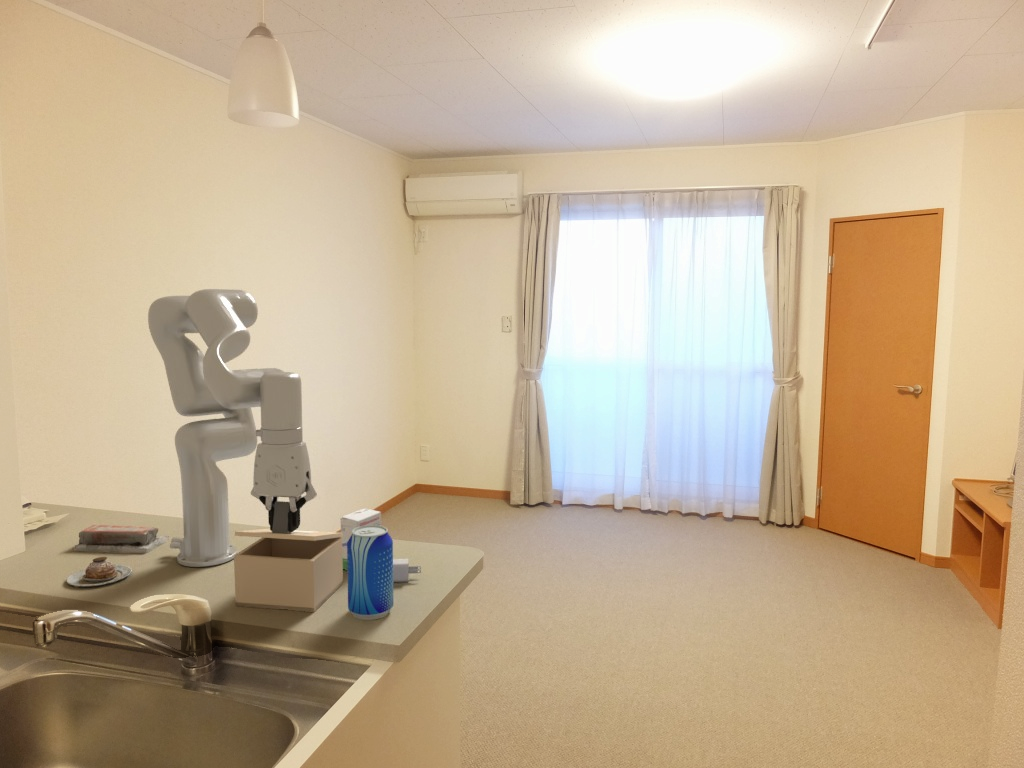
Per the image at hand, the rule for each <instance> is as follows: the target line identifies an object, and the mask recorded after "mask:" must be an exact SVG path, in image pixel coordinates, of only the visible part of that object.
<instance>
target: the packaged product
mask: <svg viewBox="0 0 1024 768" xmlns="http://www.w3.org/2000/svg"><path fill="white" fill-rule="evenodd" d="M158 532H159V528H158V527H154V526H153V527H151V526H132V525H113V524H111V525H109V524H92V525H91V526H89V527H86V528H84V529H82V530H81V531H79V533H78V537H79V538H78V543H77V544H74V548H73V552H89V553H90V552H92V553H93V552H94V553H96V552H97V553H120V554H121V553H122V554H148V553H149V552H151V551H153V550H155V549H156V548H157V547H160V546H161V545H163V544H164V543H166V542H167V541H169V540H170V536H168V535H167V536H162V535H160V536H157V534H158Z"/></svg>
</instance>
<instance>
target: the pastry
mask: <svg viewBox="0 0 1024 768" xmlns="http://www.w3.org/2000/svg"><path fill="white" fill-rule="evenodd" d="M107 559H108V557H107V556H98V557H95V558H93V559H92V562H90V563H89V565H88V566H87V567H86V568H84V569H81V570H77V571H76V572H73V573H71V575H68V577H67V579H66V583H67V584H68V585H70V586H72V587H74V588H79V587H97V586H104V585H108V584H109V585H110V584H113V583H116V582H119V581H121V580H123V579H125V578H127V577H129V576H130V575H131V574H132V571H133V569H132V568H131V567H130V566H128V565H123V564H114V563H113V561H107ZM119 574H120V576H119V577H117V576H118V575H119ZM115 577H117V578H115ZM114 578H115V579H114ZM80 579H82V580H84V581H86V582H91V583H93V584H89V583H88V584H84V583H80V582H79V581H80ZM99 582H100V583H99Z"/></svg>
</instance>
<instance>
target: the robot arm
mask: <svg viewBox="0 0 1024 768" xmlns="http://www.w3.org/2000/svg"><path fill="white" fill-rule="evenodd" d="M147 312H148V314H147V321H148V329H149V333H150V336H151V338H152V341H153V342H154V345H155V346H156V348H157V350H158V353H159V355H160V356H161V359H162V362H163V364H164V368H165V373H166V378H167V382H168V386H169V391H170V395H171V398H172V403H173V407H174V409H175V411H176V412H177V413H178V415H180V416H182V417H189V418H190V417H202V416H211V415H220V414H222V415H223V416H224V417H221V418H209V419H202V420H201V419H200V420H194V421H190V422H186V423H185V424H183V425H181V426H180V427H179V428H178V430H177V431H176V432H175V436H174V448H175V451H176V455H177V458H178V463H179V470H180V480H181V498H182V501H181V502H182V521H183V525H182V527H183V537H178V536H174V537H172V538H171V541H170V544H169V548H170V549H179V553H178V555H177V557H176V559H177V563H178V564H179V565H181V566H185V567H189V568H190V567H191V568H204V567H212V566H217V565H221V564H222V565H223V564H225V563H228V562H230V561H232V560H234V555H236V554H238V548H237V547H236V546H234V545H232V544H231V543H230V541H231V540H230V517H229V514H230V513H229V491H228V490H229V486H228V484H229V483H228V479H227V477H226V475H225V473H224V472H223V471H222V470H221V469H220V467H218V465H217V462H221V461H225V460H232V459H238V458H242V457H248V456H249V455H251V454H253V453H254V451H255V456H254V464H253V479H252V480H253V487H252V489H251V491H250V495H251V496H252V497H254V498H256V499H257V500H259V502H261V503H262V504H263V506H265V510H266V511H268V513H267V514H268V517H267V518H268V526H269V528H270V530H271V531H272V528H273V518H274V507H275V501H279V498H288V500H289V501H288V502H290V512H288V531H289V532H293V531H294V530H298V529H299V528H300V525H301V509H302V508H303V506H304V505H305V504H307V503H308V502H310V501H311V500H313V499H315V498H316V497H317V496H318V495H317V492H316V490H315V488H314V486H313V484H312V473H311V471H312V470H311V462H310V457H309V450H308V447H307V443H306V442H303V407H302V405H303V404H302V403H303V402H302V401H303V400H302V398H303V397H302V393H303V392H302V378H301V376H300V374H298V373H296V372H293V371H292V372H291V371H284V370H282V369H281V368H277V367H276V368H275V367H267V368H248V369H235V370H234V369H233V370H231V369H229V368H228V367H227V365H225V364H227V363H228V362H230V361H232V360H235V359H236V358H237V357H240V356H241V355H242V354H243V353H244V352H246V350H247V349H248V348H249V345H250V343H251V335H250V332H249V330H248V328H250V327H252V326H253V325H255V323H256V322H257V319H258V314H259V313H258V312H259V311H258V305H257V303H256V300H255V298H254V297H253V296H252V294H250V293H249V292H247V291H246V290H242V289H228V288H227V289H222V288H221V289H219V288H218V289H217V288H205V289H200V290H196V291H194V292H193V293H191V294H190V295H169V296H163V297H159V298H157V299H156V300H154V301H152V303H151V305H150V306H149V309H148V311H147ZM186 334H199V335H200V337H201V339H202V340H203V341H204V343H205V345H206V346H207V347H208V348H207V349H206V351H205V353H203V351H202V350H201V349H200V348H199V347H198V345H197V344H196V343H195V342H193V340H191V339H190V338H188V336H186ZM259 407H260V425H261V426H260V429H257V427H256V423H255V419H254V416H253V411H252V408H259ZM258 437H259V438H260V441H261V442H260V443H258ZM303 494H305V495H304V496H302V495H303Z"/></svg>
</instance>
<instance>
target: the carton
mask: <svg viewBox="0 0 1024 768" xmlns="http://www.w3.org/2000/svg"><path fill="white" fill-rule="evenodd" d="M233 563H234V565H233V569H234V595H235V597H234V598H235V599H234V600H235V607H241V606H244V607H243V608H254V607H255V609H256V608H257V609H266V608H270V610H279V609H288V610H287V611H292V610H293V611H292V612H304V611H305V612H307V613H316V611H317V610H319V609H320V607H321V606H322V605H323V604H324V603H326V601H327V600H328V599H329V598H330V597H331V596H332V595H333V594H335V592H336V591H337V590H339V589H340V587H341V586H342V585H343V584H342V583H344V574H343V572H344V570H343V559H342V537H337V538H330V539H323V540H316V541H311V540H295V539H279V538H263V537H260V538H259V539H257V540H256V541H255V542H253V543H252V544H250V545H248V546H247V547H245V548H244V549H242V550H241V551H239V552H237V554H236V555H234V558H233ZM340 585H341V586H340ZM336 589H337V590H336ZM335 590H336V591H335ZM332 593H333V594H332ZM294 610H295V611H294Z"/></svg>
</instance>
